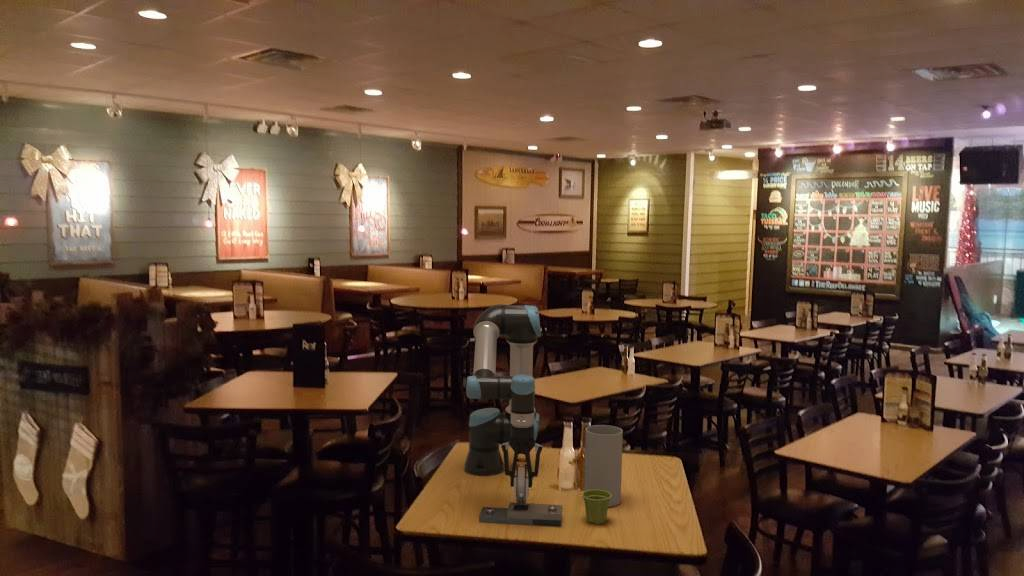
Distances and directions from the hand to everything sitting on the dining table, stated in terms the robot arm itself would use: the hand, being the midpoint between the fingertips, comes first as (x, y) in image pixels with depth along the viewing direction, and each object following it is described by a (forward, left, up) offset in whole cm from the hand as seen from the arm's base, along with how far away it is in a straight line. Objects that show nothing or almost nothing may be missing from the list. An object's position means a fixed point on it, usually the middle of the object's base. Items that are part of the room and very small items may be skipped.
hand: (521, 496), depth 236 cm
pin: (0, 0, -2) cm, 2 cm away
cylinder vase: (+2, +33, -8) cm, 34 cm away
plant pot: (+14, +20, -8) cm, 25 cm away
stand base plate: (0, 0, -8) cm, 8 cm away
